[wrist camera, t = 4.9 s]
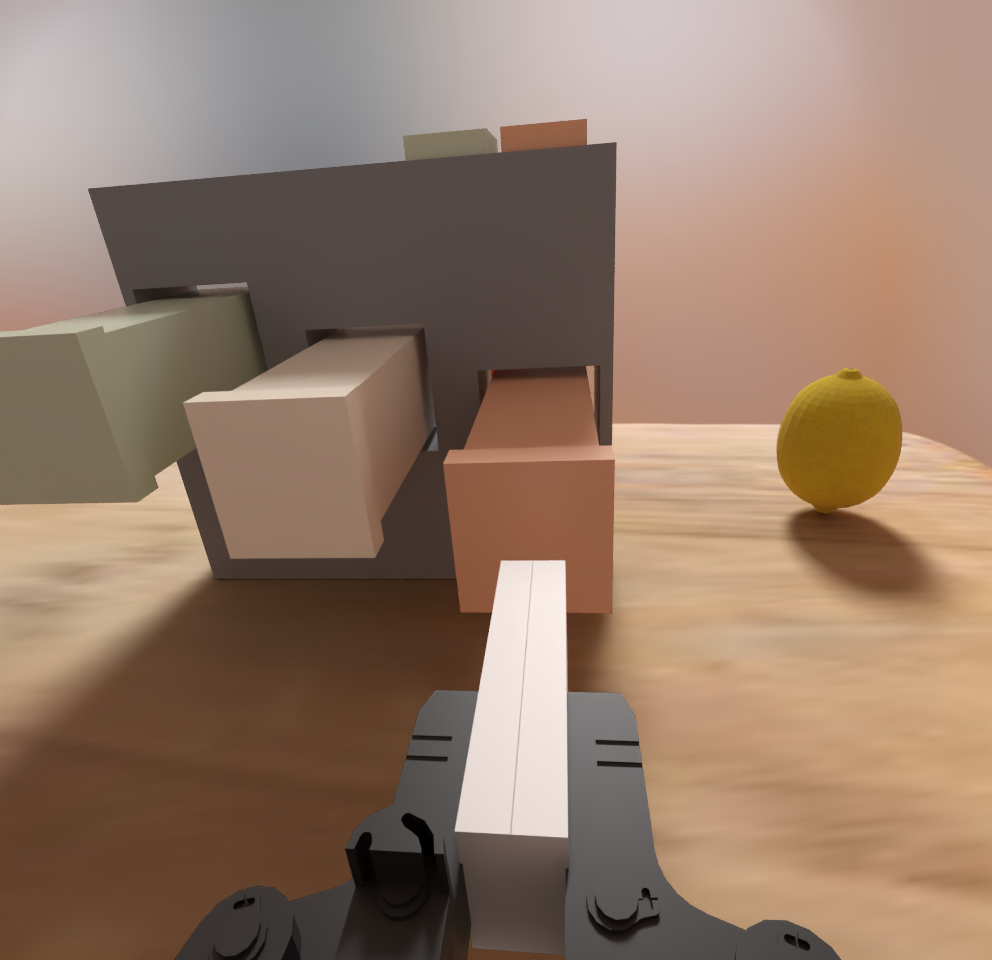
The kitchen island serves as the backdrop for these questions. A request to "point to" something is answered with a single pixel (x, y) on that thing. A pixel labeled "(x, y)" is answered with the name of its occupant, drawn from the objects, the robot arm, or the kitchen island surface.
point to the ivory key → (317, 444)
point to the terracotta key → (533, 488)
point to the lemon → (839, 441)
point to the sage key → (116, 394)
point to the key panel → (397, 289)
